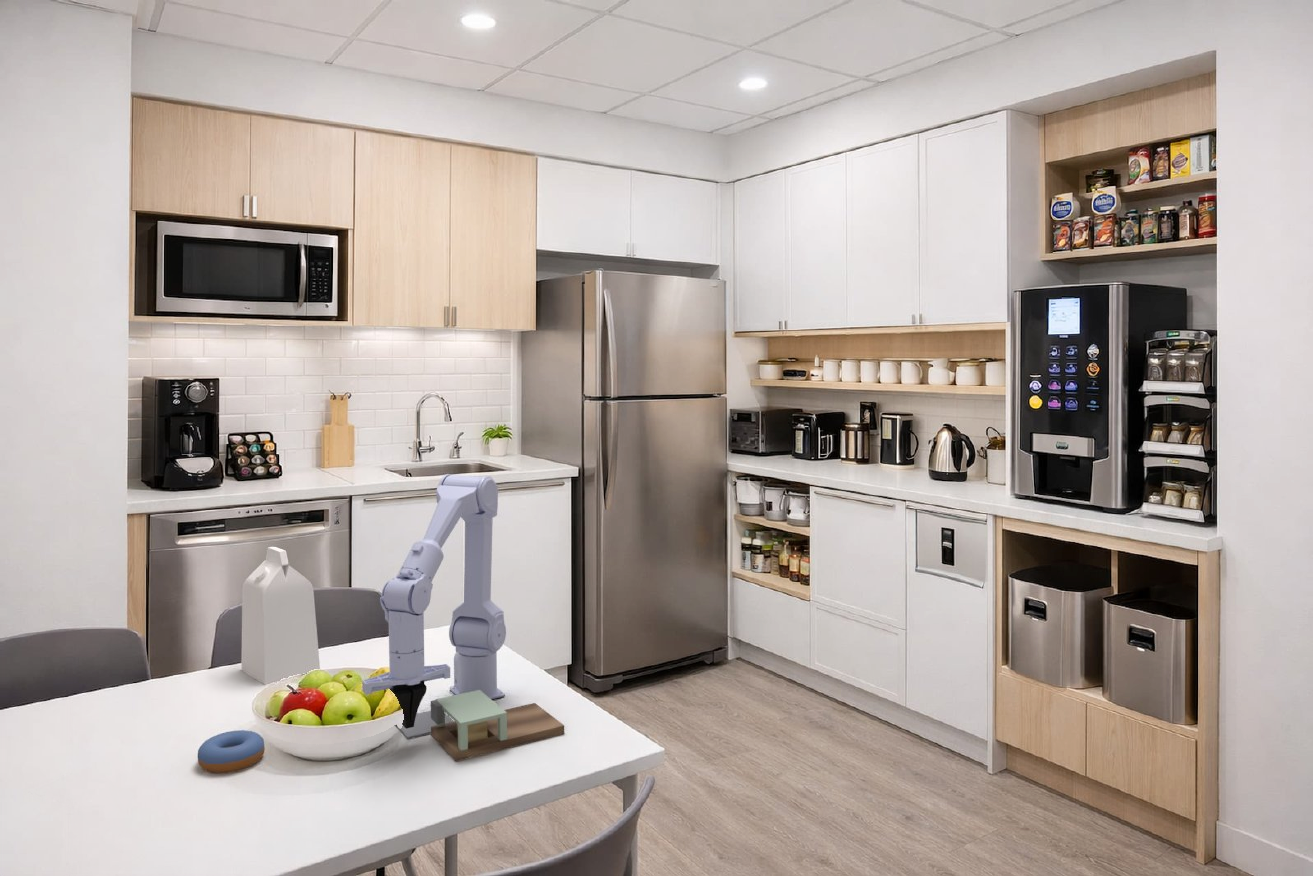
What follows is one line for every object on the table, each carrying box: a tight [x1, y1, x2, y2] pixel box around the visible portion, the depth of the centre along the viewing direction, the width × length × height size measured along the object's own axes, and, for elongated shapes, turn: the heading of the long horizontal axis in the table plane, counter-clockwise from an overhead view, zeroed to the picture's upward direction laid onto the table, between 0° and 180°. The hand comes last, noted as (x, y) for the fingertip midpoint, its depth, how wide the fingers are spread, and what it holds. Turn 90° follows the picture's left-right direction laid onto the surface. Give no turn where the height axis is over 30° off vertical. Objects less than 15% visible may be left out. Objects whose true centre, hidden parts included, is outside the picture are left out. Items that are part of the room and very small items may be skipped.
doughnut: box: [197, 729, 266, 774], centre depth 143 cm, size 10×10×5 cm
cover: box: [430, 690, 507, 751], centre depth 151 cm, size 12×9×5 cm
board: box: [430, 702, 565, 762], centre depth 154 cm, size 12×20×2 cm, turn 123°
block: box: [456, 721, 488, 743], centre depth 151 cm, size 4×4×5 cm
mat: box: [399, 710, 454, 740], centre depth 158 cm, size 9×9×1 cm
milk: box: [240, 546, 321, 686], centre depth 184 cm, size 12×12×26 cm
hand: (408, 725), depth 150 cm, fingers closed
